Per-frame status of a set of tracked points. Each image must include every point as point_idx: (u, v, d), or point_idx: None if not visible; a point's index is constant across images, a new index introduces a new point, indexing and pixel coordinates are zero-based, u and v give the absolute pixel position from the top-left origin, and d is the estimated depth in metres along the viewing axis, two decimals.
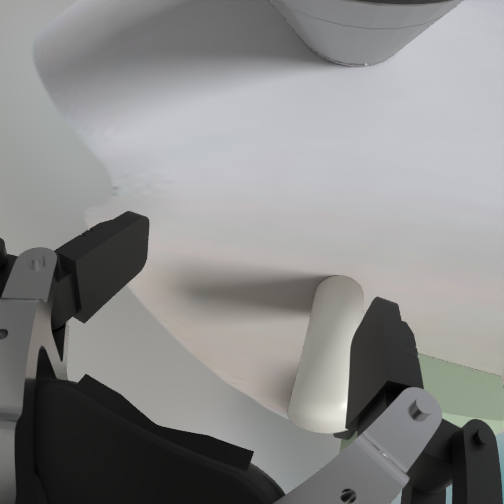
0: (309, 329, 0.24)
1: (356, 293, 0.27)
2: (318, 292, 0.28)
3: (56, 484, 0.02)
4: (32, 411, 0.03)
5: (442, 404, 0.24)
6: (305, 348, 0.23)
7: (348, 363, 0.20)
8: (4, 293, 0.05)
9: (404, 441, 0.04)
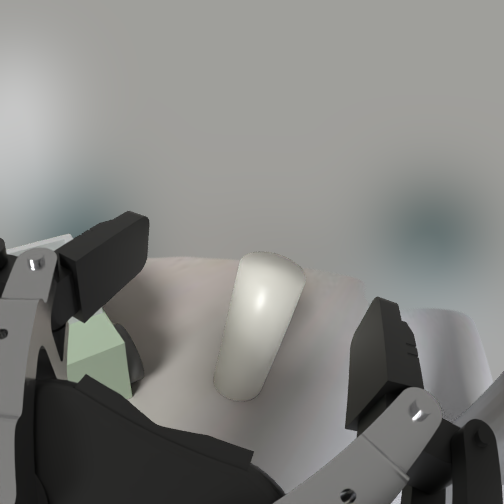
0: None
1: (251, 390, 0.27)
2: None
3: (56, 484, 0.02)
4: (32, 411, 0.03)
5: (70, 373, 0.18)
6: None
7: (282, 324, 0.22)
8: (4, 293, 0.05)
9: (404, 441, 0.04)
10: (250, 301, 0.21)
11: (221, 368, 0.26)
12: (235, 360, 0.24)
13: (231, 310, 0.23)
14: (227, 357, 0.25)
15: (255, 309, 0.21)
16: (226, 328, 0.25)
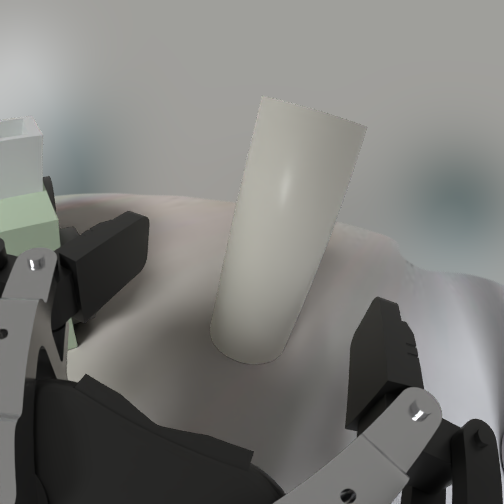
0: None
1: (271, 342, 0.17)
2: None
3: (56, 484, 0.02)
4: (32, 411, 0.03)
5: None
6: None
7: (334, 195, 0.13)
8: (4, 293, 0.05)
9: (404, 441, 0.04)
10: (282, 138, 0.12)
11: (223, 300, 0.16)
12: (248, 275, 0.15)
13: (245, 176, 0.14)
14: (234, 273, 0.15)
15: (291, 153, 0.12)
16: (235, 218, 0.15)
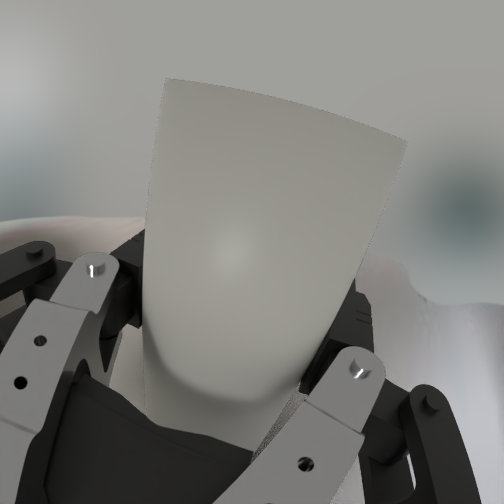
0: None
1: None
2: None
3: (56, 484, 0.02)
4: None
5: None
6: None
7: (325, 306, 0.06)
8: (54, 294, 0.05)
9: (351, 401, 0.05)
10: (189, 183, 0.04)
11: (150, 419, 0.09)
12: (171, 413, 0.08)
13: None
14: (153, 401, 0.08)
15: (213, 224, 0.05)
16: (142, 319, 0.08)
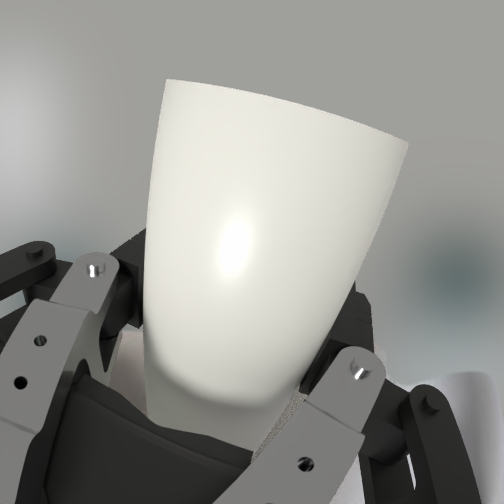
0: None
1: None
2: None
3: (56, 484, 0.02)
4: None
5: None
6: None
7: (326, 307, 0.06)
8: (54, 295, 0.05)
9: (351, 401, 0.05)
10: (191, 185, 0.04)
11: None
12: (172, 414, 0.08)
13: None
14: (154, 402, 0.08)
15: (215, 225, 0.05)
16: (143, 320, 0.08)
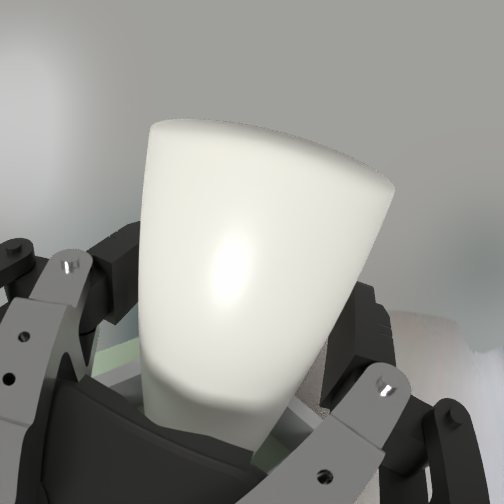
0: None
1: None
2: None
3: (56, 484, 0.02)
4: None
5: None
6: None
7: (307, 348, 0.06)
8: (32, 292, 0.05)
9: (375, 417, 0.05)
10: (176, 246, 0.05)
11: None
12: None
13: (138, 292, 0.07)
14: (151, 419, 0.08)
15: (199, 285, 0.05)
16: (140, 346, 0.08)
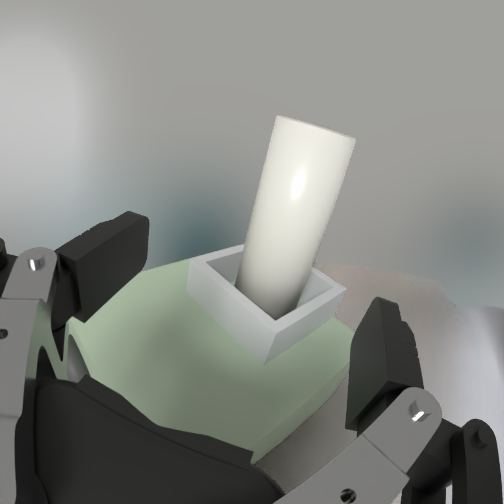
0: None
1: (282, 309, 0.21)
2: None
3: (56, 484, 0.02)
4: (32, 411, 0.03)
5: (332, 381, 0.20)
6: None
7: (331, 191, 0.17)
8: (4, 293, 0.05)
9: (404, 441, 0.04)
10: (293, 150, 0.16)
11: (244, 274, 0.21)
12: (266, 253, 0.19)
13: (264, 177, 0.18)
14: (254, 252, 0.20)
15: (299, 161, 0.16)
16: (255, 209, 0.19)
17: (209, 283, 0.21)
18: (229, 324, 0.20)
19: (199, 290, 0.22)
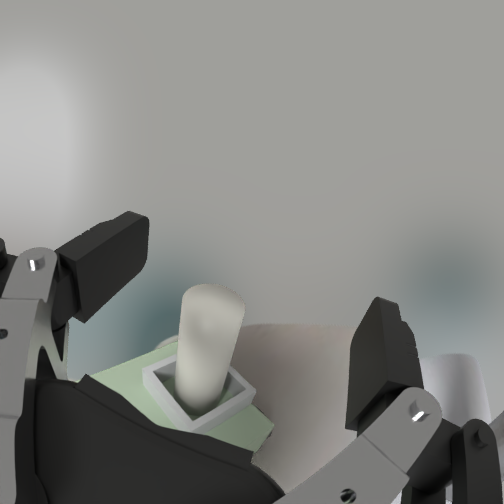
0: None
1: (204, 406, 0.28)
2: None
3: (56, 484, 0.02)
4: (32, 411, 0.03)
5: None
6: None
7: (223, 352, 0.24)
8: (4, 293, 0.05)
9: (403, 441, 0.04)
10: (190, 331, 0.23)
11: (176, 385, 0.28)
12: (186, 380, 0.26)
13: (179, 336, 0.25)
14: (179, 376, 0.26)
15: (195, 339, 0.23)
16: (177, 351, 0.26)
17: (154, 388, 0.28)
18: (168, 415, 0.27)
19: (150, 388, 0.29)
